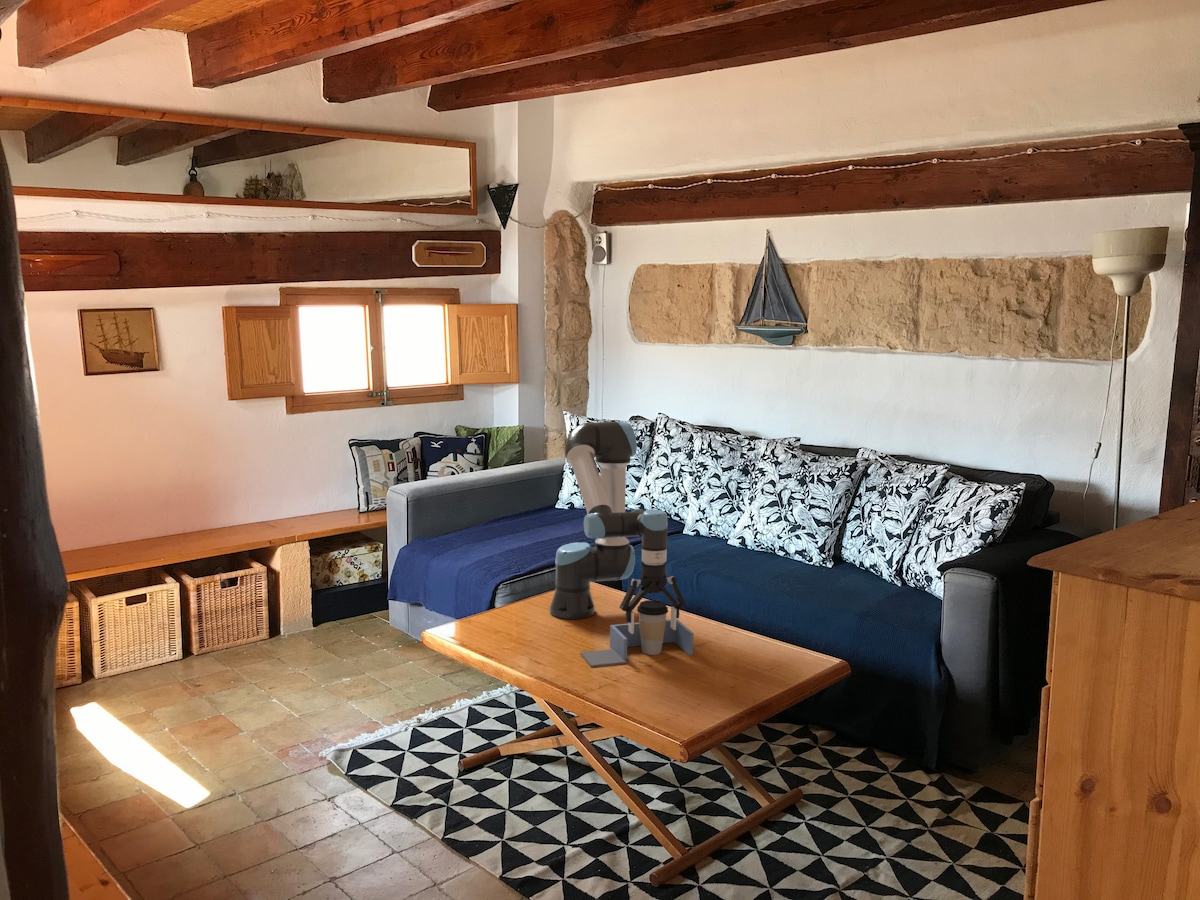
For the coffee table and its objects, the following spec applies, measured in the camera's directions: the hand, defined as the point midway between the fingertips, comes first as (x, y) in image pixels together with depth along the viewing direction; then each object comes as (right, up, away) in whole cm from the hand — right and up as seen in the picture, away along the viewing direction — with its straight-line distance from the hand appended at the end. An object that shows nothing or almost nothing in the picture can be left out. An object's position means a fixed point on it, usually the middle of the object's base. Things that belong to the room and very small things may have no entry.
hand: (652, 630), depth 300 cm
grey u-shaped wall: (0, -7, +1) cm, 7 cm away
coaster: (-15, -7, -5) cm, 17 cm away
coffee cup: (0, -7, +1) cm, 7 cm away
